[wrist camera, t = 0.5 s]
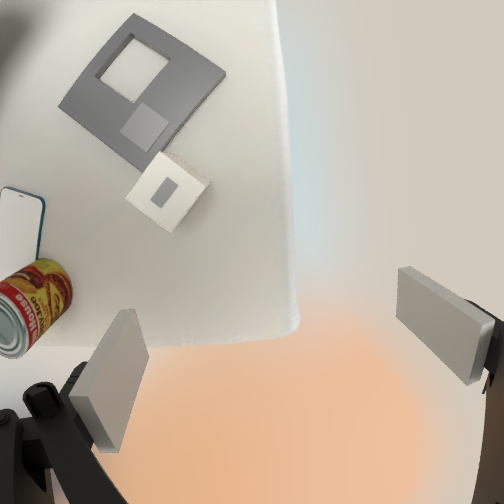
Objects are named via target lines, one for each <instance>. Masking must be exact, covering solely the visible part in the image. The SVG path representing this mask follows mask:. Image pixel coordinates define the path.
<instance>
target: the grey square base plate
mask: <svg viewBox="0 0 504 504" xmlns="http://www.w3.org/2000/svg"><path fill="white" fill-rule="evenodd" d="M133 38H136V39H138V40H139V41H141V42H142V43H144V44H146V45H147V46H149V47H150V48H152V49H153V50H155V51H156V52H158V53H160V54H161V55H163V56H164V57H166V58H167V59H169V60H170V61H169V62H168V64H167V65H166V66H165V67H164V68H163V69H162V70H161V71H160V73H159V74H158V75H157V76H156V77H155V78H154V80H153V81H152V82H151V83H150V84H149V86H148V87H147V88H146V89H145V90H144V92H143V93H142V94H141V95H140V97H139V98H138V99H137V100H136V102H135V103H134V104H132V103H131V102H130V101H128V100H127V99H125V98H124V97H123V96H121V95H120V94H118V93H117V92H116V91H114V90H113V89H111V88H110V87H109V86H107V85H106V84H104V83H103V82H101V81H100V80H99V78H100V77H101V76H102V74H103V73H104V72H105V70H106V69H107V68H108V67H109V66H110V64H111V63H112V62H113V61H114V59H115V58H116V57H117V56H118V55H119V54H120V52H121V51H122V50H123V49H124V48H125V47H126V45H127V44H128V43H129V42H130V41H131V40H132V39H133ZM225 76H226V72H225V71H224V70H222V69H221V68H220V67H218V66H217V65H215V64H214V63H212V62H211V61H210V60H208V59H207V58H205V57H204V56H202V55H201V54H199V53H198V52H196V51H195V50H193V49H192V48H190V47H189V46H187V45H186V44H184V43H183V42H181V41H179V40H178V39H176V38H175V37H173V36H172V35H170V34H168V33H167V32H165V31H163V30H162V29H160V28H159V27H157V26H155V25H154V24H152V23H150V22H148V21H147V20H145V19H143V18H142V17H140V16H138V15H136V14H134V13H133V14H132V15H131V16H130V17H129V18H128V19H127V20H126V21H125V22H124V24H123V25H122V26H121V27H120V28H119V29H118V30H117V31H116V32H115V33H114V34H113V36H112V37H111V38H110V39H109V40H108V41H107V42H106V44H105V45H104V46H103V47H102V48H101V50H100V51H99V52H98V53H97V54H96V56H95V57H94V58H93V59H92V61H91V62H90V63H89V64H88V66H87V67H86V68H85V70H84V71H83V72H82V73H81V75H80V76H79V77H78V79H77V80H76V82H75V83H74V84H73V86H72V87H71V88H70V90H69V91H68V93H67V94H66V96H65V97H64V98H63V100H62V101H61V103H60V104H59V106H58V107H59V108H60V109H61V110H63V111H64V112H65V113H66V114H68V115H69V116H70V117H72V118H73V119H74V120H75V121H77V122H78V123H79V124H81V125H82V126H83V127H84V128H86V129H87V130H88V131H90V132H91V133H92V134H93V135H95V136H96V137H97V138H99V139H100V140H101V141H102V142H104V143H105V144H106V145H108V146H109V147H110V148H111V149H113V150H114V151H115V152H117V153H118V154H119V155H121V156H122V157H123V158H124V159H126V160H127V161H128V162H130V163H131V164H132V165H133V166H135V167H136V168H137V169H139V170H140V171H141V172H142V173H143V172H144V171H145V170H146V168H147V167H148V166H149V164H150V163H151V162H152V160H153V159H154V158H155V156H156V155H157V154H158V152H159V151H161V152H162V151H163V150H164V148H165V147H166V146H167V144H168V143H169V142H170V141H171V139H172V138H173V137H174V136H175V134H176V133H177V132H178V131H179V129H180V128H181V127H182V126H183V124H184V123H185V122H186V121H187V119H188V118H189V117H190V116H191V115H192V113H193V112H194V111H195V110H196V109H197V108H198V106H199V105H200V104H201V103H202V102H203V101H204V99H205V98H206V97H207V96H208V95H209V94H210V93H211V91H212V90H213V89H214V88H215V87H216V86H217V85H218V84H219V82H220V81H221V80H222V79H223V78H224V77H225Z"/></svg>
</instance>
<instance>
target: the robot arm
mask: <svg viewBox="0 0 504 504" xmlns="http://www.w3.org/2000/svg"><path fill="white" fill-rule="evenodd" d="M396 317H397V318H398V319H399V320H400V321H401V322H402V323H403V324H404V325H405V326H406V327H407V328H408V329H409V330H410V331H412V332H413V333H414V334H415V335H416V336H417V337H418V338H419V339H420V340H421V341H422V342H423V343H424V344H425V345H426V346H427V347H428V348H429V349H430V350H431V351H432V352H433V353H434V354H435V355H436V356H437V357H438V358H440V360H441V361H443V362H444V363H445V364H446V365H447V366H448V367H449V368H450V369H451V370H452V371H453V372H454V373H455V374H456V375H457V376H458V377H459V378H460V379H461V380H462V381H463V382H464V383H465V384H466V385H467V386H468V385H470V384H472V383H474V382H476V381H478V380H480V378H481V375H482V372H483V368H484V367H485V368H486V369H487V370H488V371H489V374H488V377H487V380H486V383H485V386H484V389H483V392H482V394H484V393H485V391H486V410H485V422H484V433H483V442H482V450H481V456H480V463H479V469H478V475H477V481H476V485H475V490H474V495H473V499H472V503H471V504H504V321H501V320H500V319H498V318H497V317H495V316H494V315H492V314H491V313H489V312H488V311H485V310H484V309H483V308H481V307H479V306H478V305H477V304H475V303H474V302H471V301H469V300H466V299H463V298H461V297H460V296H458V295H456V294H455V293H453V292H452V291H450V290H448V289H447V288H445V287H444V286H442V285H440V284H439V283H437V282H435V281H434V280H432V279H430V278H429V277H427V276H425V275H424V274H422V273H421V272H419V271H417V270H416V269H414V268H412V267H405V268H400V269H398V290H397V310H396ZM148 358H149V356H148V352H147V349H146V346H145V343H144V339H143V336H142V333H141V329H140V326H139V322H138V319H137V315H136V312H135V309H129V310H120V312H119V313H118V315H117V316H116V318H115V319H114V321H113V323H112V324H111V326H110V327H109V329H108V330H107V332H106V334H105V335H104V337H103V338H102V340H101V342H100V343H99V345H98V346H97V348H96V350H95V351H94V353H93V355H92V356H91V358H90V360H89V361H88V362H82V363H81V364H79V365H78V366H77V367H76V368H75V369H74V370H73V372H72V373H71V375H70V377H69V378H68V380H67V381H66V384H65V385H64V386H63V388H62V390H61V391H60V393H58V391H57V389H56V387H55V386H54V385H53V383H50V382H40V383H36V384H34V385H32V386H30V387H29V388H28V389H27V390H26V391H25V392H24V394H23V401H24V403H25V405H26V407H27V408H28V410H29V411H30V413H31V415H32V417H29V418H22V419H19V417H18V416H17V414H16V413H15V412H14V410H11V409H3V410H0V504H55V502H54V496H53V489H52V481H51V473H50V468H53V470H54V472H55V475H56V477H57V479H58V481H59V483H60V485H61V487H62V489H63V491H64V493H65V496H66V498H67V499H68V501H69V503H70V504H128V503H127V501H126V500H125V499H124V497H123V496H122V495H121V493H120V492H119V491H118V489H117V488H116V487H115V485H114V484H113V482H112V481H111V480H110V478H109V477H108V475H107V474H106V472H105V471H104V469H103V468H102V466H101V465H100V463H99V462H98V460H97V459H96V457H95V456H94V454H93V453H92V451H91V448H92V445H93V442H94V443H95V445H96V446H97V448H98V450H99V451H100V452H104V453H119V450H120V447H121V443H122V440H123V437H124V433H125V430H126V427H127V423H128V420H129V417H130V414H131V410H132V407H133V404H134V401H135V397H136V395H137V391H138V388H139V385H140V382H141V379H142V376H143V373H144V370H145V367H146V364H147V361H148Z"/></svg>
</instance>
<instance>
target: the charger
mask: <svg viewBox="0 0 504 504" xmlns="http://www.w3.org/2000/svg"><path fill="white" fill-rule="evenodd" d="M210 183H211V182H210V181H208V180H207V179H206V178H204V177H203V176H202V175H201V174H199V173H198V172H197V171H195V170H194V169H193V168H191V167H190V166H189V165H188V164H186V163H185V162H184V161H182V160H181V159H180V158H178V157H177V156H176V155H173V154H169V153H165V152H161V151H159V152H158V154H157V155H156V156H155V158H154V159H153V160H152V162H151V163H150V164H149V166H148V167H147V168H146V170H145V171H144V172H143V174H142V175H141V177H140V178H139V179H138V181H137V182H136V184H135V185H134V187H133V188H132V189H131V191H130V192H129V194H128V195H127V197H126V198H125V199H126V200H127V201H128V202H130V203H131V204H132V205H133V206H135V207H136V208H137V209H139V210H140V211H141V212H142V213H144V214H145V215H146V216H148V217H149V218H150V219H151V220H153V221H154V222H155V223H157V224H158V225H159V226H161V227H162V228H163V229H164V230H166V231H167V232H168V233H171V232H172V231H173V230H174V229H175V227H176V226H177V225H178V224H179V223H180V221H181V220H182V219H183V218H184V217H185V215H186V214H187V213H188V211H189V210H190V209H191V207H192V206H193V205H194V203H195V202H196V201H197V200H198V198H199V197H200V196H201V194H202V193H203V192H204V191H205V189H206V188H207V187H208V186H209V184H210Z"/></svg>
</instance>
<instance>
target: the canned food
mask: <svg viewBox="0 0 504 504" xmlns="http://www.w3.org/2000/svg"><path fill="white" fill-rule="evenodd" d="M72 298H73V288H72V285H71V281H70V279H69V277H68V275H67V273H66V272H65V271H64V269H63V268H62V267H61V266H60V265H59V264H57V263H56V262H54V261H52V260H50V259H38V260H36V261H34V262H33V263H31V264H29V265H27V266H26V267H24V268H22V269H20V270H19V271H17V272H15V273H14V274H12V275H10V276H9V277H7V278H5V279H4V280H2V281H0V355H2V356H3V357H6V358H9V359H17V358H20V357H22V356H23V355H24V354H25V353H26V352H27V351H28V350H29V349H30V348H31V347H32V345H33V344H34V343H35V342H36V341H37V340H38V339H39V338H40V337H41V336H42V335H43V334H44V333H45V332H46V331H47V330H48V329H49V327H50V326H51V325H52V324H53V323H54V322H55V321H56V320H57V319H58V318H59V317H60V316H61V315H62V314H63V313H64V312H65V311H66V310H67V309H68V308H69V306H70V304H71V303H72Z"/></svg>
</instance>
